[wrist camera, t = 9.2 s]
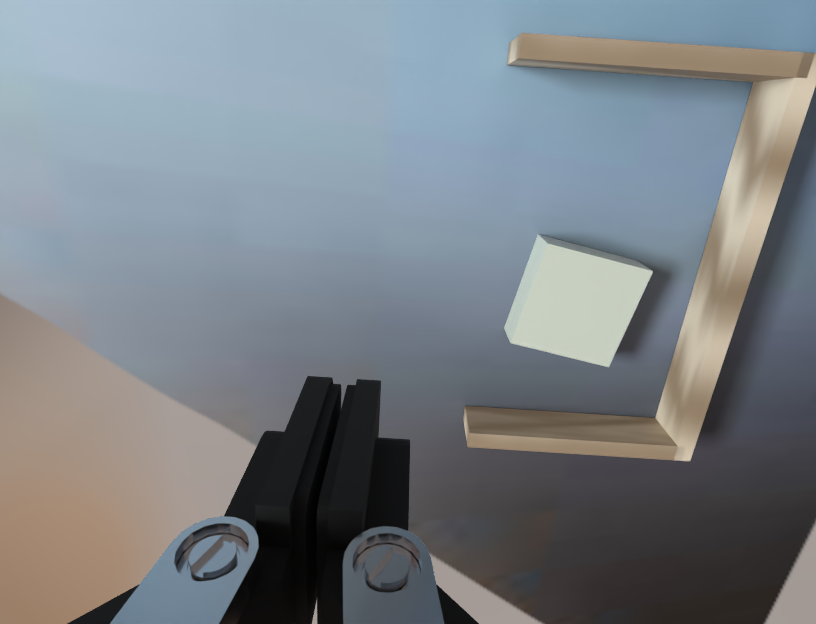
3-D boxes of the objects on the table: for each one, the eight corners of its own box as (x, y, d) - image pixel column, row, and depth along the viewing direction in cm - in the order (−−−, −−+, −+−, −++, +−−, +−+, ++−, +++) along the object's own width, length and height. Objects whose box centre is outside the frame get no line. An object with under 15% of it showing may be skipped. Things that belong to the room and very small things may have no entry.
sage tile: (536, 232, 28) (547, 243, 26) (634, 258, 29) (653, 271, 26) (503, 325, 30) (510, 342, 28) (594, 348, 31) (608, 367, 29)
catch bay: (509, 42, 24) (521, 32, 22) (779, 61, 24) (826, 54, 22) (463, 418, 32) (467, 447, 30) (666, 431, 33) (690, 461, 30)
